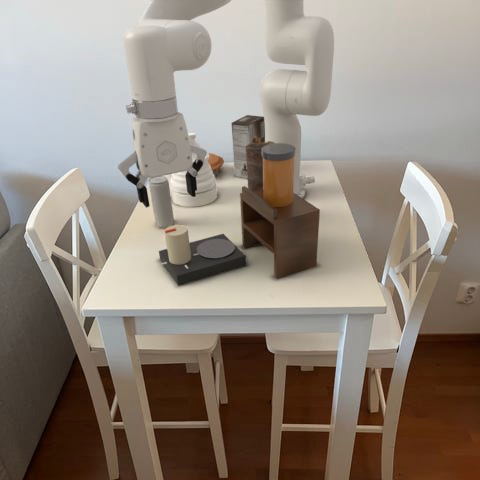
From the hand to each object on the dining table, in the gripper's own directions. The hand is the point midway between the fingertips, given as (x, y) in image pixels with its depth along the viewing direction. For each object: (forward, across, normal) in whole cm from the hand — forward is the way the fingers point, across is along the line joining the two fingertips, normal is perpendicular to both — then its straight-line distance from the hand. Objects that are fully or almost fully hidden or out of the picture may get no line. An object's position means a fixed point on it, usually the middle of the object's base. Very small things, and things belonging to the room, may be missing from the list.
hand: (169, 199), depth 93 cm
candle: (+16, +26, +10) cm, 32 cm away
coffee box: (+16, +39, +43) cm, 60 cm away
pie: (+16, +26, +51) cm, 59 cm away
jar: (+3, +21, -6) cm, 22 cm away
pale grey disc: (+14, +9, 0) cm, 16 cm away
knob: (+14, 0, 0) cm, 14 cm away
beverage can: (+16, +4, +23) cm, 28 cm away
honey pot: (+16, +17, +35) cm, 42 cm away
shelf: (+16, +22, -6) cm, 28 cm away
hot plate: (+16, +6, 0) cm, 17 cm away
